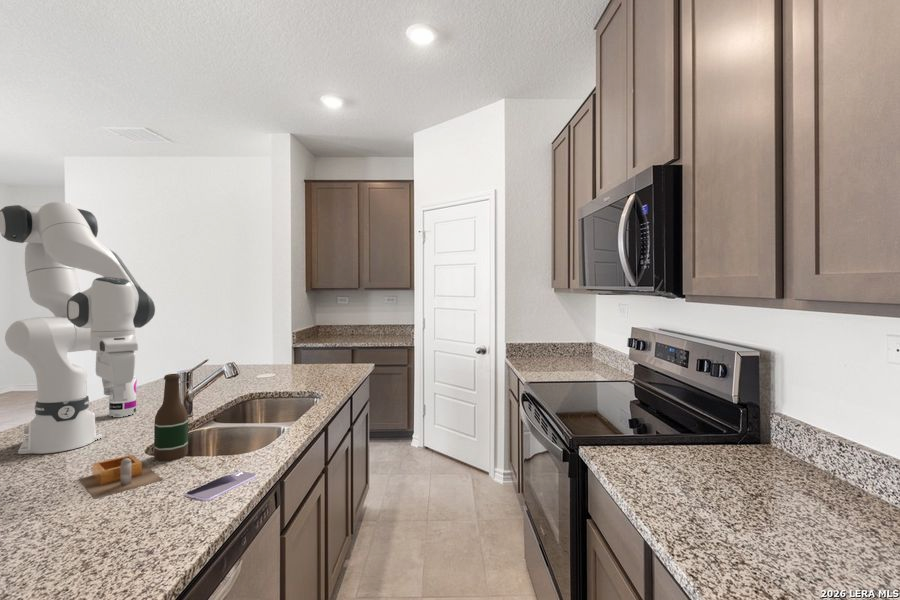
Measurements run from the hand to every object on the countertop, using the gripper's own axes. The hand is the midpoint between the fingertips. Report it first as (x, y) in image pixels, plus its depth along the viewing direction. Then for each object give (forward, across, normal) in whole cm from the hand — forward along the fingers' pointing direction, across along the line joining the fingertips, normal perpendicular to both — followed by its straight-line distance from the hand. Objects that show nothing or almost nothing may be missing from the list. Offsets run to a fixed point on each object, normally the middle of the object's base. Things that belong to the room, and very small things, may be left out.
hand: (113, 397), depth 107 cm
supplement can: (+19, -67, +16) cm, 71 cm away
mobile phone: (+21, +24, +16) cm, 36 cm away
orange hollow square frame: (+19, +3, 0) cm, 19 cm away
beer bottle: (+20, -2, +13) cm, 24 cm away
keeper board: (+20, +7, 0) cm, 21 cm away
